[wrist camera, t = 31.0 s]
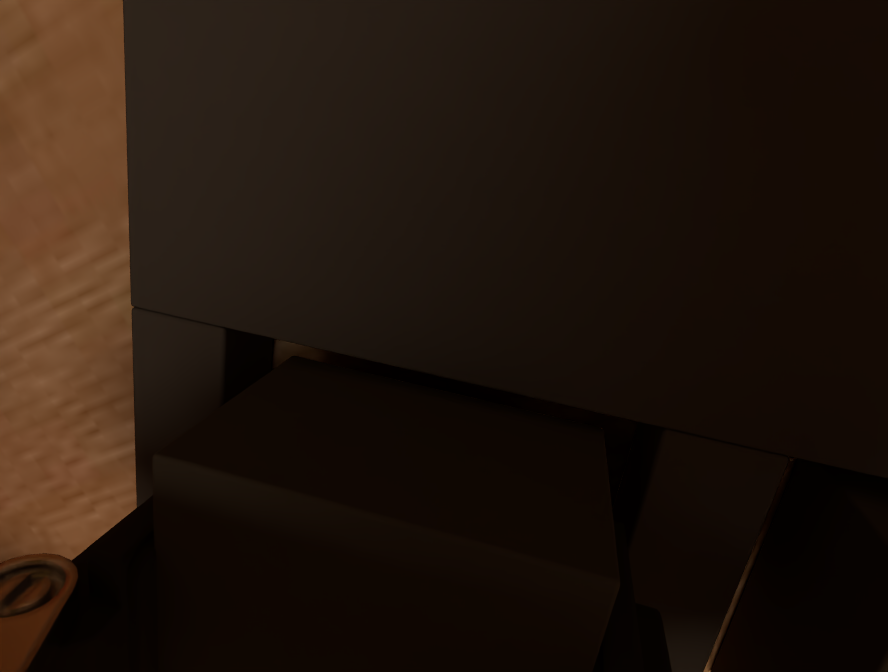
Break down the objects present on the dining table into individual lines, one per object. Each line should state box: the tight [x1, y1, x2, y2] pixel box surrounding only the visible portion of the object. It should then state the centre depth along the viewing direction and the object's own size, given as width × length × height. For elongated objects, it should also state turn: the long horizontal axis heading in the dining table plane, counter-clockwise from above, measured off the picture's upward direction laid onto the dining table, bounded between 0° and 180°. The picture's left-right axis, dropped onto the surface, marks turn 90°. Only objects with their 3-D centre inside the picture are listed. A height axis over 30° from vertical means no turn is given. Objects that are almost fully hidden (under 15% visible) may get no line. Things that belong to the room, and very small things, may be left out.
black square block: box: [152, 356, 620, 672], centre depth 10 cm, size 6×6×4 cm
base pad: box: [123, 0, 888, 672], centre depth 10 cm, size 22×14×2 cm, turn 81°
